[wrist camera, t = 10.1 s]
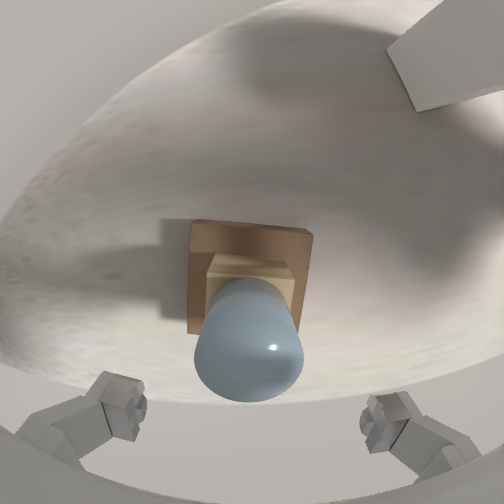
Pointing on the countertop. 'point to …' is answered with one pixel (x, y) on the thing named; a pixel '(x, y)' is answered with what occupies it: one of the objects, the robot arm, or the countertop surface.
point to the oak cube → (249, 273)
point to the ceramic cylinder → (248, 342)
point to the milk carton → (452, 53)
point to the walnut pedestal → (244, 243)
